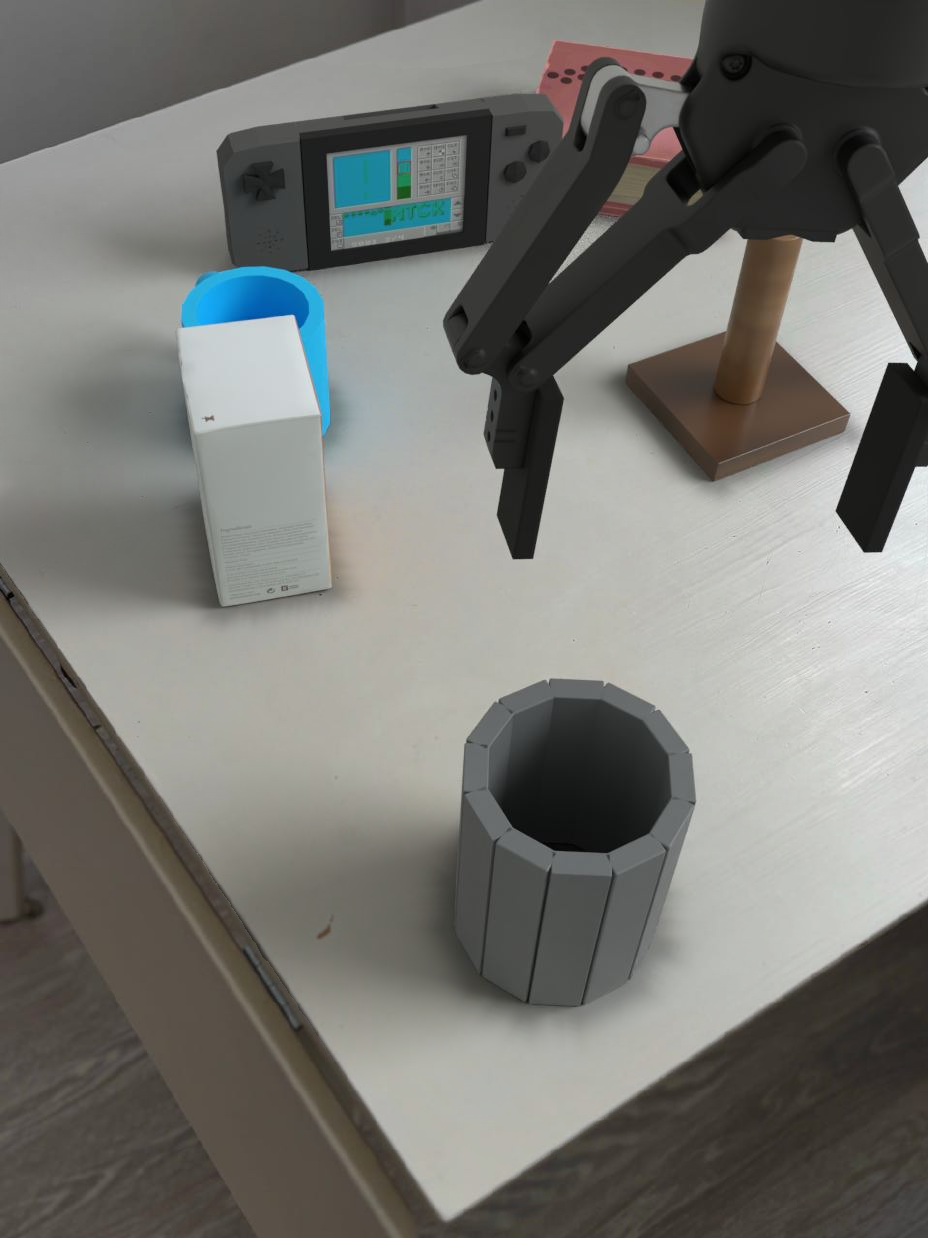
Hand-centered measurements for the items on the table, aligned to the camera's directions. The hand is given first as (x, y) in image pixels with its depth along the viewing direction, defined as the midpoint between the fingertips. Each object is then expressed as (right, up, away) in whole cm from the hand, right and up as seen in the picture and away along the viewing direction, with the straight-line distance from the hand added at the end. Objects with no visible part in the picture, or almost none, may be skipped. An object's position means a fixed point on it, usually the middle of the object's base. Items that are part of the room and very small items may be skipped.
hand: (691, 535), depth 50 cm
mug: (-22, +11, +35) cm, 42 cm away
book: (+4, +31, +53) cm, 61 cm away
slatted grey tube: (-4, -17, +13) cm, 22 cm away
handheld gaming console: (-13, +23, +45) cm, 52 cm away
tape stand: (+9, +10, +36) cm, 38 cm away
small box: (-20, +1, +27) cm, 33 cm away
